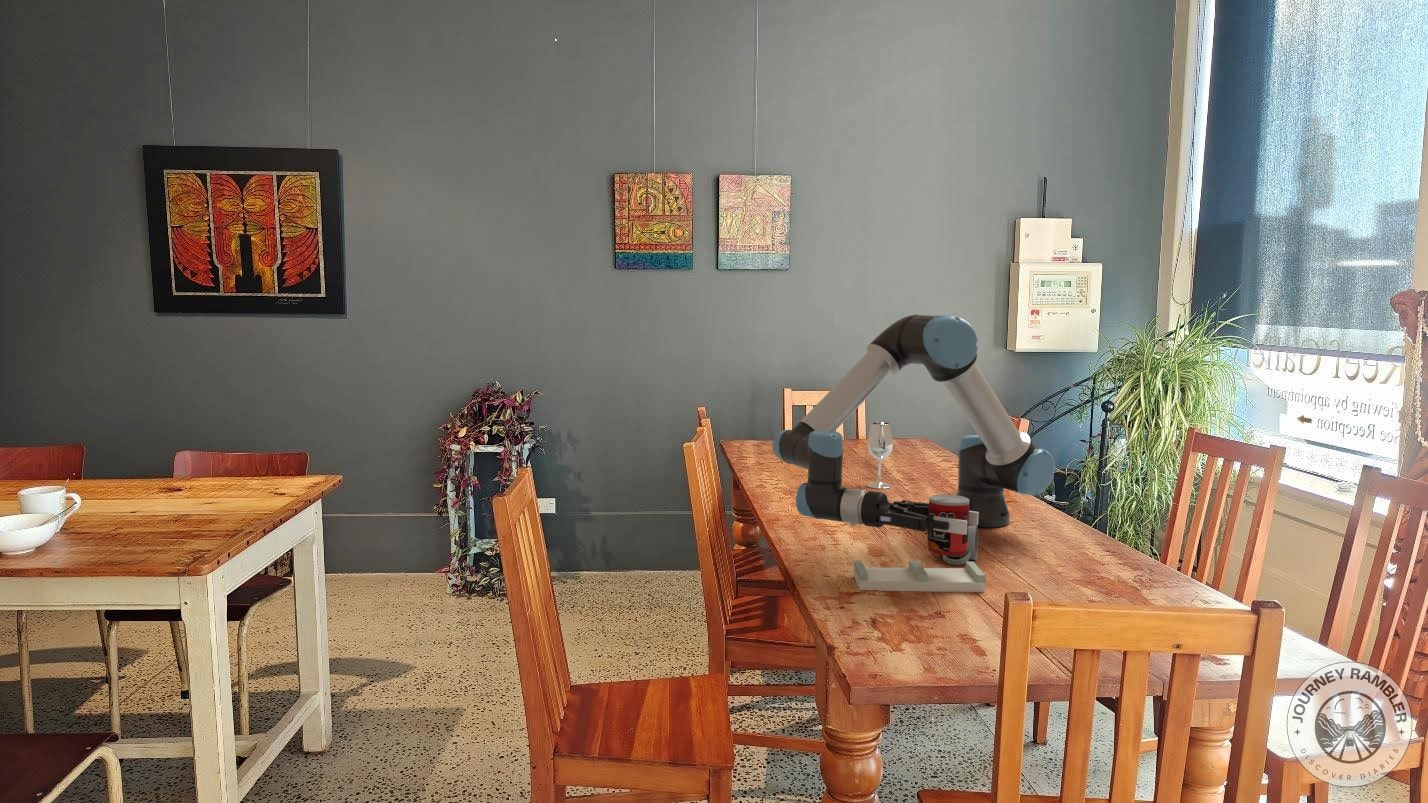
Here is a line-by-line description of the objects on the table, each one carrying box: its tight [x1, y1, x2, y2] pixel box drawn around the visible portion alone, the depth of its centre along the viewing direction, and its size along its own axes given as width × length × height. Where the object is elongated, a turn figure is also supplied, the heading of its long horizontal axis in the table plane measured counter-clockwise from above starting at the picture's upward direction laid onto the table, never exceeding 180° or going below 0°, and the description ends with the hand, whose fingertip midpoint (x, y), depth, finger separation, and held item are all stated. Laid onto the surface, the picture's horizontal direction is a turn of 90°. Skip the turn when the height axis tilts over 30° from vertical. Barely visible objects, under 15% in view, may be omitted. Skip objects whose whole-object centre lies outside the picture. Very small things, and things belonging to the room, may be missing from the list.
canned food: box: [927, 493, 969, 556], centre depth 175 cm, size 8×8×11 cm
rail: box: [853, 559, 986, 593], centre depth 177 cm, size 25×9×4 cm, turn 88°
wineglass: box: [866, 421, 894, 490], centre depth 268 cm, size 8×8×20 cm
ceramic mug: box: [941, 526, 979, 566], centre depth 194 cm, size 11×8×8 cm
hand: (972, 523), depth 173 cm, fingers closed on canned food, 8 cm apart
